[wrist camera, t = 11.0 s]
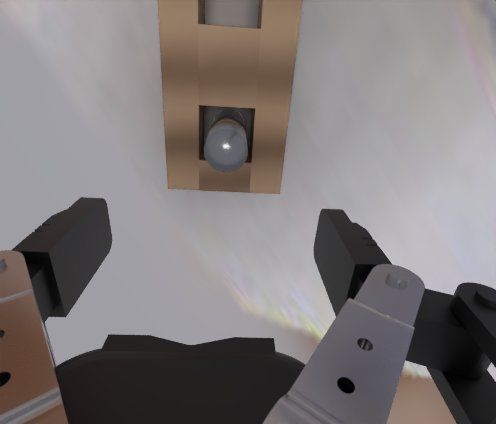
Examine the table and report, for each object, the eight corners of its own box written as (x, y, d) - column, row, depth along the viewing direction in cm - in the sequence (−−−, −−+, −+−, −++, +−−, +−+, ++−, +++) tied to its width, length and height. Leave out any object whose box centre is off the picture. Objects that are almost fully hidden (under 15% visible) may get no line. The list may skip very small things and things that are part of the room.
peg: (213, 106, 29) (203, 127, 20) (245, 108, 29) (249, 130, 21) (213, 138, 31) (203, 171, 22) (243, 140, 31) (246, 173, 22)
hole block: (167, -85, 23) (151, -120, 19) (299, -73, 24) (314, -103, 19) (177, 170, 32) (167, 188, 27) (273, 175, 33) (279, 193, 28)
